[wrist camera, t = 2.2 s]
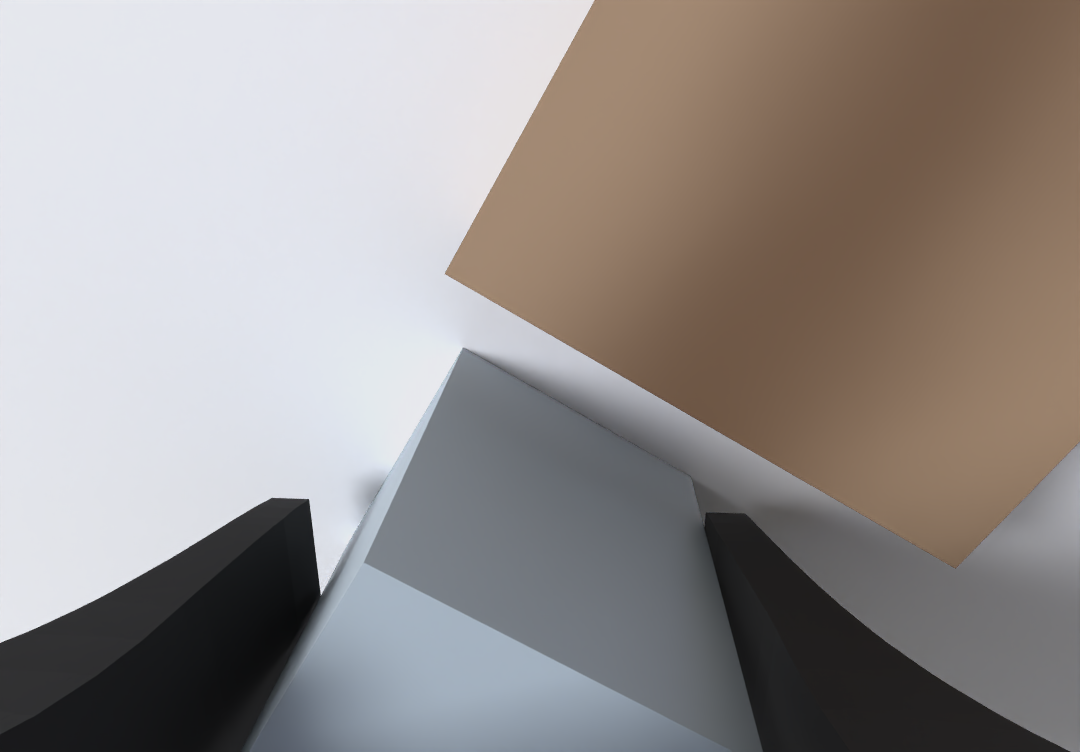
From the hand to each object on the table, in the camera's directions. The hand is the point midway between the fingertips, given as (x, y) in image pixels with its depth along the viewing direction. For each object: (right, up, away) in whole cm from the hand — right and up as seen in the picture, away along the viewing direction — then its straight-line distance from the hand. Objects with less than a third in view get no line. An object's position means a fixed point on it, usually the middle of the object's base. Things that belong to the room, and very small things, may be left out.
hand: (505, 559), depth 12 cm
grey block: (0, +1, +1) cm, 2 cm away
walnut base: (+5, +7, -1) cm, 8 cm away
